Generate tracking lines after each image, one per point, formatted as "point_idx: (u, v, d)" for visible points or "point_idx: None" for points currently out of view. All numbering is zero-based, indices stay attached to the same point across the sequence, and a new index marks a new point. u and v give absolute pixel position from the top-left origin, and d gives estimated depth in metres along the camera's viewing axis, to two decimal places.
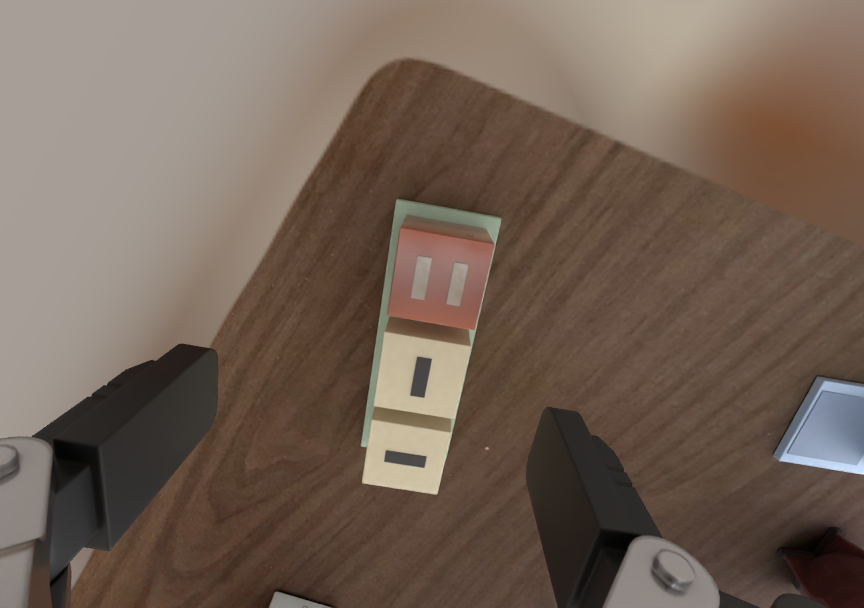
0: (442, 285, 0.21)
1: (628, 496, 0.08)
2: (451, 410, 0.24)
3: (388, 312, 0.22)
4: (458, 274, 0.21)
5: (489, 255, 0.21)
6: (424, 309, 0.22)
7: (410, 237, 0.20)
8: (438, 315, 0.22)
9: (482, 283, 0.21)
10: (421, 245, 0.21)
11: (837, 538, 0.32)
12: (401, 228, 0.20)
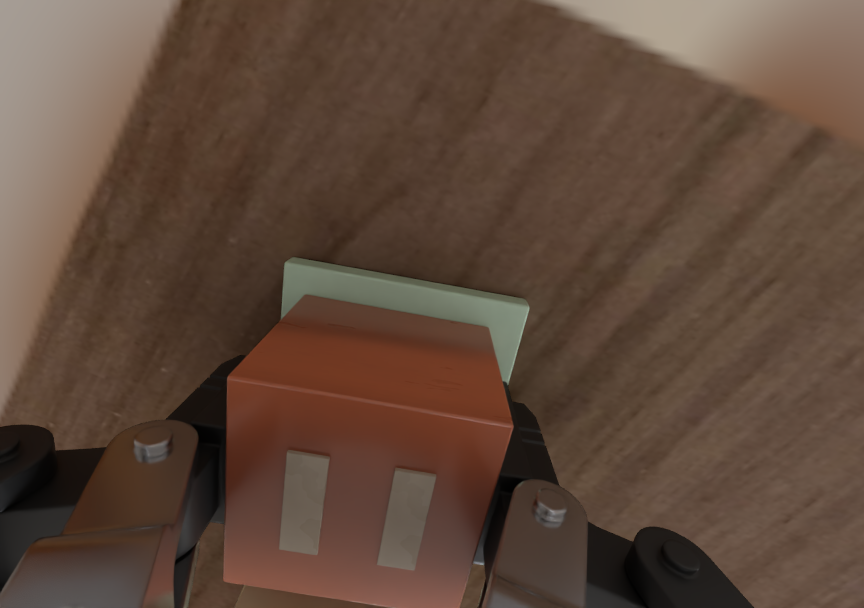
0: (364, 521, 0.08)
1: (537, 452, 0.09)
2: None
3: (225, 576, 0.08)
4: (409, 497, 0.07)
5: (497, 454, 0.07)
6: (321, 573, 0.08)
7: (261, 404, 0.07)
8: (358, 586, 0.08)
9: (476, 519, 0.08)
10: (294, 426, 0.07)
11: None
12: (230, 380, 0.07)
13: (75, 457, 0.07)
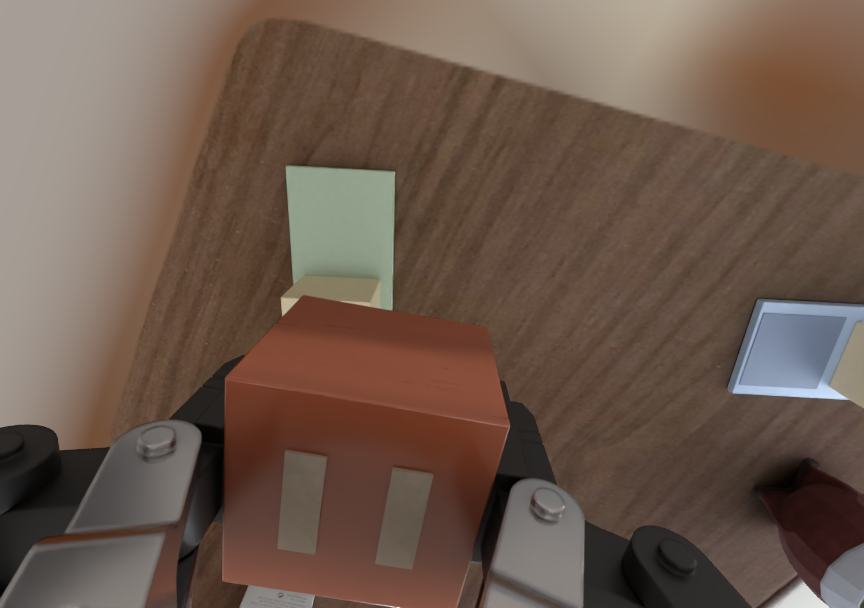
0: (361, 520, 0.08)
1: (535, 452, 0.09)
2: None
3: (224, 576, 0.08)
4: (406, 496, 0.07)
5: (494, 453, 0.07)
6: (319, 572, 0.08)
7: (258, 404, 0.07)
8: (357, 585, 0.08)
9: (474, 518, 0.08)
10: (292, 426, 0.07)
11: (811, 470, 0.30)
12: (228, 380, 0.07)
13: (79, 457, 0.07)
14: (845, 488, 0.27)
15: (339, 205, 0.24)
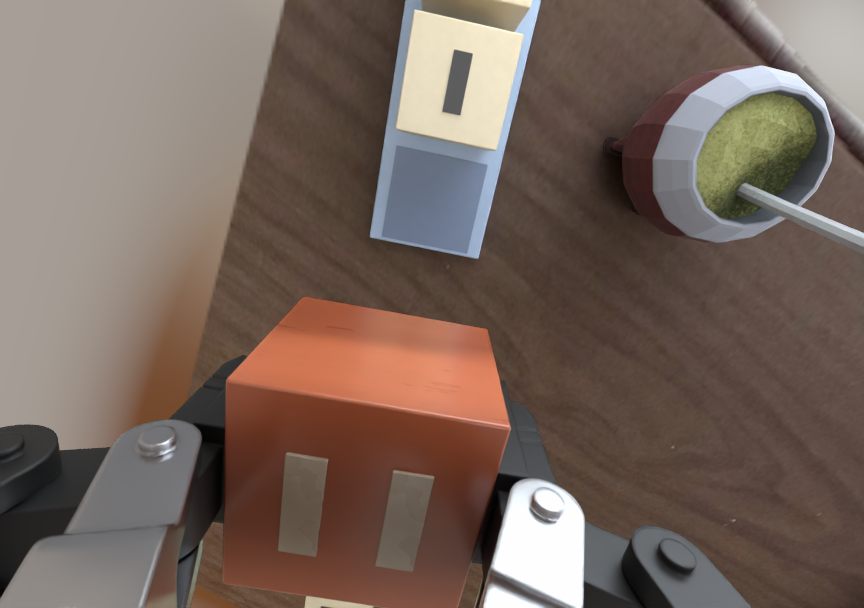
0: (362, 523, 0.08)
1: (535, 452, 0.09)
2: None
3: (224, 578, 0.08)
4: (407, 499, 0.07)
5: (495, 455, 0.07)
6: (320, 574, 0.08)
7: (259, 406, 0.07)
8: (357, 587, 0.08)
9: (474, 520, 0.08)
10: (292, 428, 0.07)
11: (615, 149, 0.23)
12: (229, 383, 0.07)
13: (78, 458, 0.07)
14: (620, 147, 0.20)
15: None
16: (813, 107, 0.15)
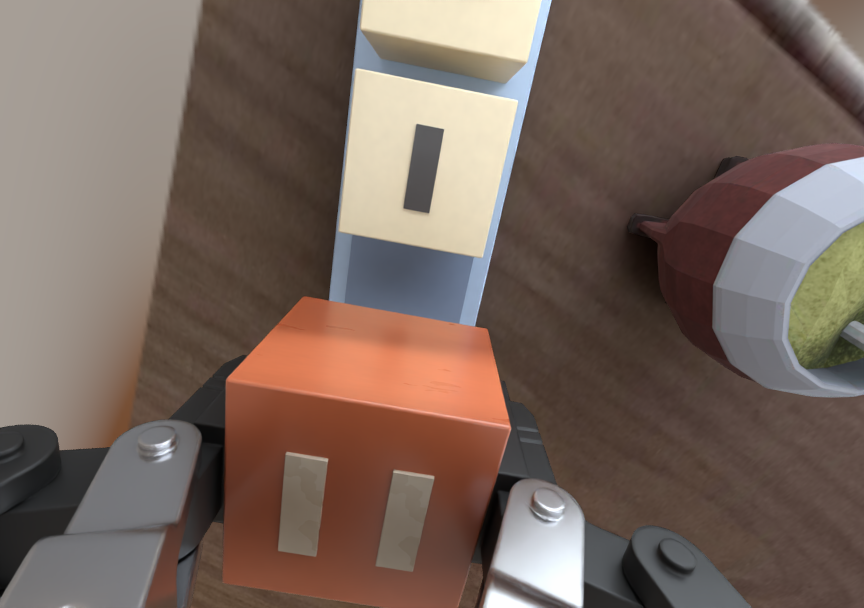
0: (362, 522, 0.08)
1: (535, 452, 0.09)
2: None
3: (224, 578, 0.08)
4: (407, 499, 0.07)
5: (495, 455, 0.07)
6: (320, 574, 0.08)
7: (259, 406, 0.07)
8: (357, 587, 0.08)
9: (474, 520, 0.08)
10: (293, 428, 0.07)
11: (644, 231, 0.17)
12: (229, 382, 0.07)
13: (79, 457, 0.07)
14: (656, 241, 0.15)
15: None
16: None
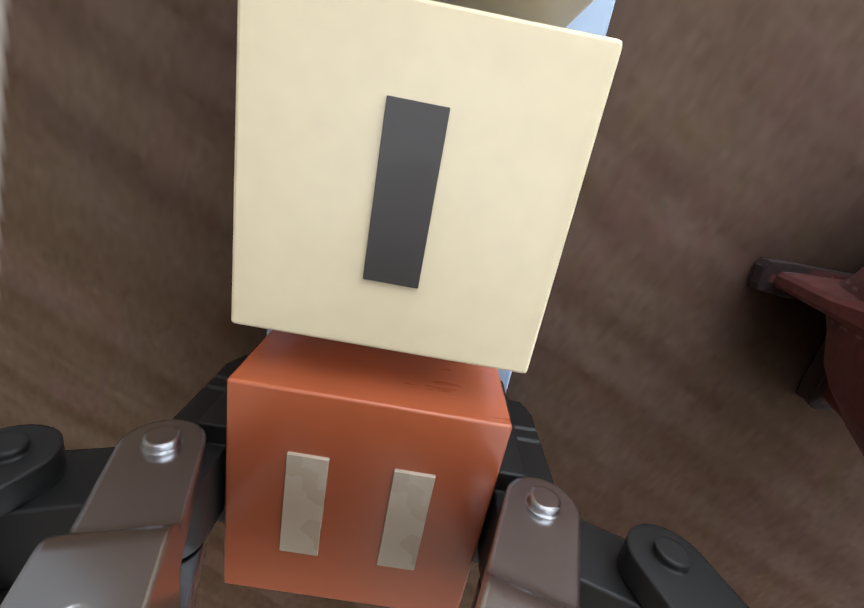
0: (364, 521, 0.08)
1: (532, 450, 0.09)
2: None
3: (225, 577, 0.08)
4: (408, 497, 0.07)
5: (496, 454, 0.07)
6: (321, 573, 0.08)
7: (261, 406, 0.07)
8: (358, 586, 0.08)
9: (475, 519, 0.08)
10: (295, 428, 0.07)
11: None
12: (230, 382, 0.07)
13: (84, 458, 0.07)
14: (844, 325, 0.08)
15: None
16: None
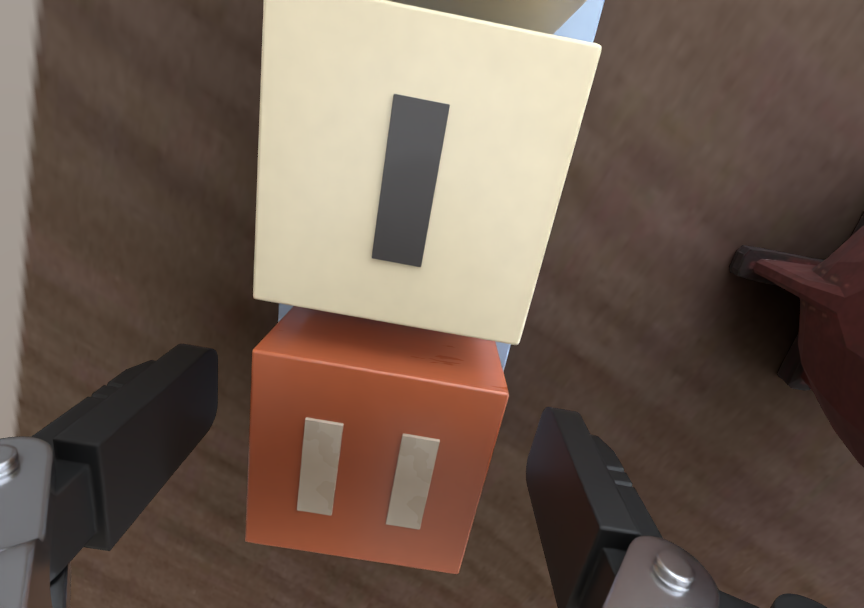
0: (374, 483, 0.08)
1: (628, 496, 0.08)
2: None
3: (247, 536, 0.09)
4: (415, 460, 0.08)
5: (494, 420, 0.08)
6: (335, 532, 0.09)
7: (282, 375, 0.08)
8: (369, 544, 0.09)
9: (476, 481, 0.08)
10: (312, 395, 0.08)
11: None
12: (255, 353, 0.07)
13: None
14: (812, 304, 0.09)
15: None
16: None
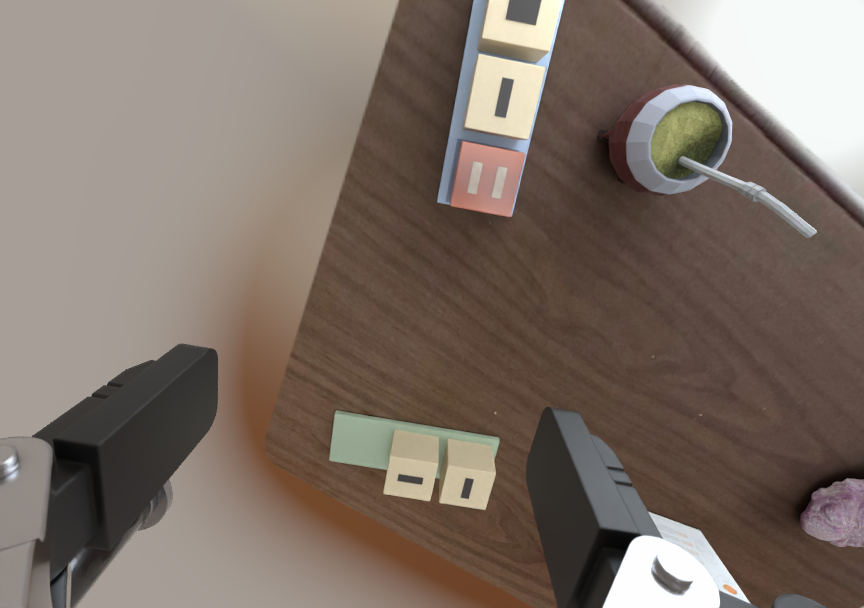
0: (489, 183, 0.31)
1: (628, 496, 0.08)
2: (432, 465, 0.40)
3: (451, 203, 0.32)
4: (500, 175, 0.31)
5: (521, 161, 0.31)
6: (476, 201, 0.32)
7: (469, 148, 0.30)
8: (485, 206, 0.32)
9: (516, 182, 0.31)
10: (475, 154, 0.30)
11: (605, 138, 0.34)
12: (463, 142, 0.30)
13: None
14: (608, 136, 0.31)
15: (350, 441, 0.44)
16: (717, 109, 0.26)
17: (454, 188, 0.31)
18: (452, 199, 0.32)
